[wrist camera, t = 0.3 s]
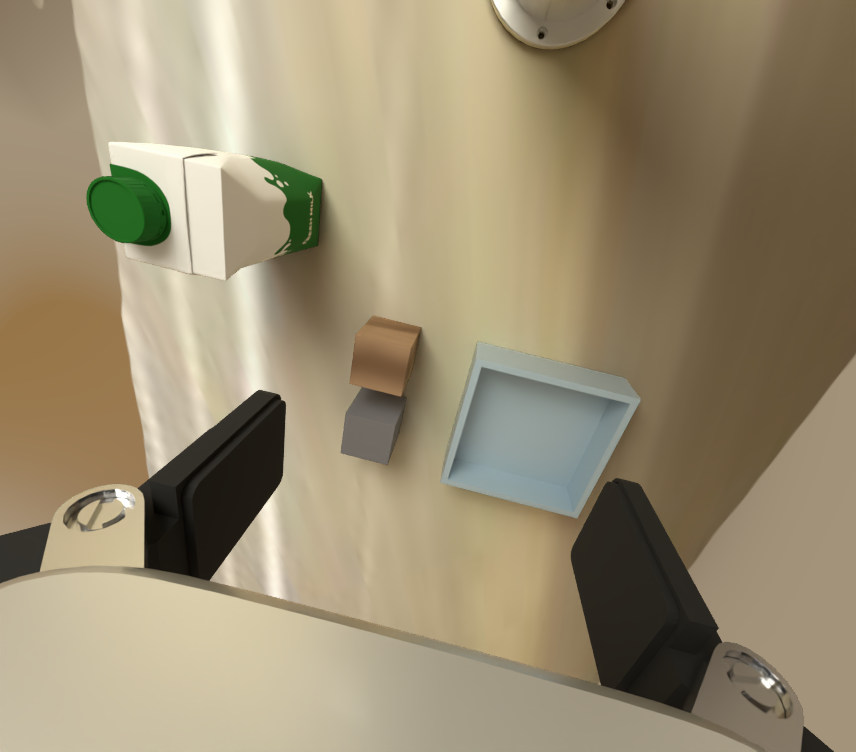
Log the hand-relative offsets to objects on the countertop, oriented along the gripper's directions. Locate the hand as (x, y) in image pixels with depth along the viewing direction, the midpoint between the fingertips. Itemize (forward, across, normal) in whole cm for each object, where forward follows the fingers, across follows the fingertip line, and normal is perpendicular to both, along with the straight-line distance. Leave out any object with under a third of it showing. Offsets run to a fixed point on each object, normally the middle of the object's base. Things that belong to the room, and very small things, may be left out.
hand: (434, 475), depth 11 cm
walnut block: (+36, +7, +11) cm, 38 cm away
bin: (+36, -12, +17) cm, 41 cm away
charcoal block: (+36, +8, +21) cm, 42 cm away
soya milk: (+35, +21, -2) cm, 41 cm away
